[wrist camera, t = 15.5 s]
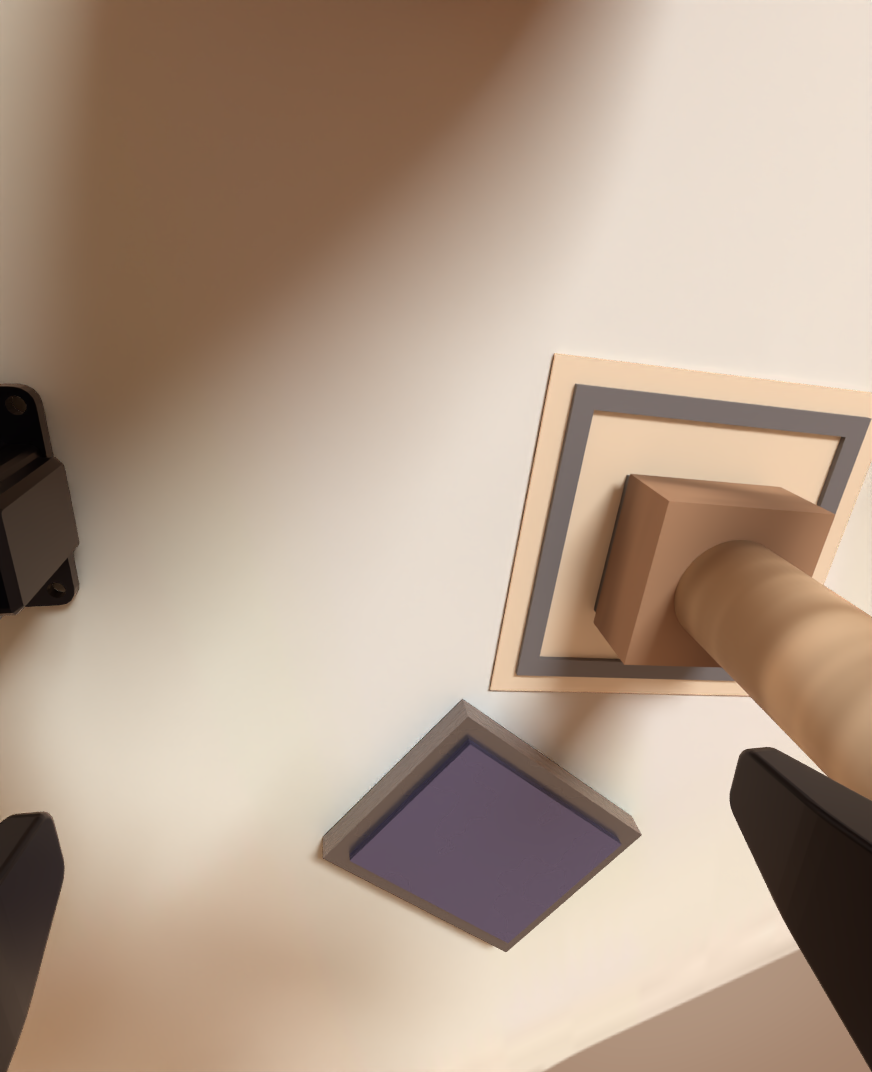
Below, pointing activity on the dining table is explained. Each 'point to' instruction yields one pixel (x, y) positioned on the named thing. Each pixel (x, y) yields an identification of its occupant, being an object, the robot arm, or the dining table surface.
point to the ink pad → (480, 830)
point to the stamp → (743, 608)
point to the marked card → (669, 451)
